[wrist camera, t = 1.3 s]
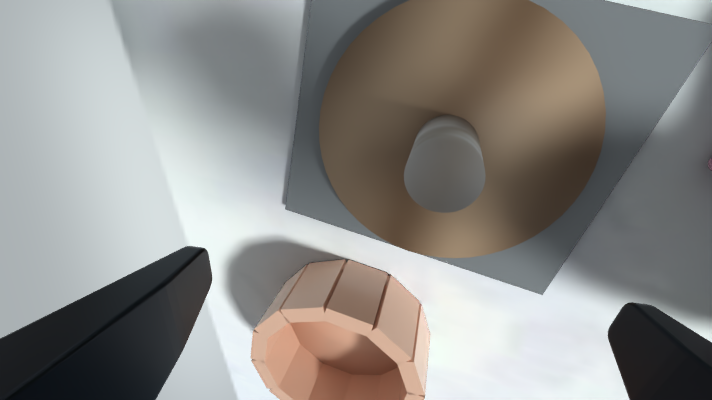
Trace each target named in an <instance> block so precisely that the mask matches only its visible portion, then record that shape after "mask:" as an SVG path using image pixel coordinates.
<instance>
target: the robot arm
mask: <svg viewBox="0 0 712 400" xmlns="http://www.w3.org/2000/svg"><path fill="white" fill-rule="evenodd" d="M211 283H212V272H211V267H210V261H209V255H208V252H207V250H206V249H205V248H201V247H193V246H187V247H184V248H182V249H180V250H178V251H176V252H174V253H172V254H170V255H168V256H166V257H164V258H162V259H160V260H158V261H155V262H153V263H151V264H149V265H147V266H146V267H144V268H141V269H139V270H137V271H135V272H133V273H132V274H129V275H127V276H126V277H123V278H121V279H119V280H117V281H115V282H114V283H112V284H109V285H107V286H105V287H103V288H101V289H100V290H97V291H95V292H93V293H91V294H89V295H87V296H85V297H83V298H81V299H79V300H77V301H75V302H73V303H71V304H69V305H67V306H65V307H63V308H61V309H59V310H57V311H55V312H53V313H51V314H49V315H47V316H45V317H43V318H41V319H39V320H37V321H35V322H33V323H31V324H29V325H27V326H25V327H23V328H21V329H19V330H17V331H15V332H13V333H11V334H9V335H7V336H5V337H2V338H0V400H155V399H156V398H157V396H158V394H159V393H160V391H161V389H162V387H163V385H164V383H165V382H166V380H167V378H168V376H169V375H170V373H171V371H172V369H173V368H174V366H175V364H176V362H177V360H178V358H179V357H180V355H181V352H182V351H183V349H184V347H185V344H186V342H187V340H188V338H189V335H190V333H191V331H192V329H193V326H194V324H195V321H196V319H197V317H198V315H199V312H200V310H201V308H202V305H203V303H204V301H205V298H206V296H207V294H208V291H209V289H210V286H211ZM608 339H609V343H610V345H611V348H612V351H613V354H614V357H615V359H616V362H617V365H618V368H619V371H620V374H621V376H622V379H623V382H624V385H625V388H626V390H627V393H628V396H629V399H630V400H712V343H711V342H710V341H708V340H707V339H705V338H703V337H702V336H700V335H699V334H697V333H695V332H694V331H692V330H691V329H689V328H687V327H686V326H684V325H683V324H681V323H679V322H678V321H676V320H675V319H673V318H671V317H670V316H668V315H667V314H665V313H663V312H662V311H660V310H659V309H657V308H656V307H654V306H651V305H648V304H641V303H633V302H631V303H627V304H625V305H624V306H623V307H622V309H621V310H620V312H619V313H618V315H617V316H616V318H615V319H614V321H613V323H612V324H611V326H610V327H609V330H608Z"/></svg>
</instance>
